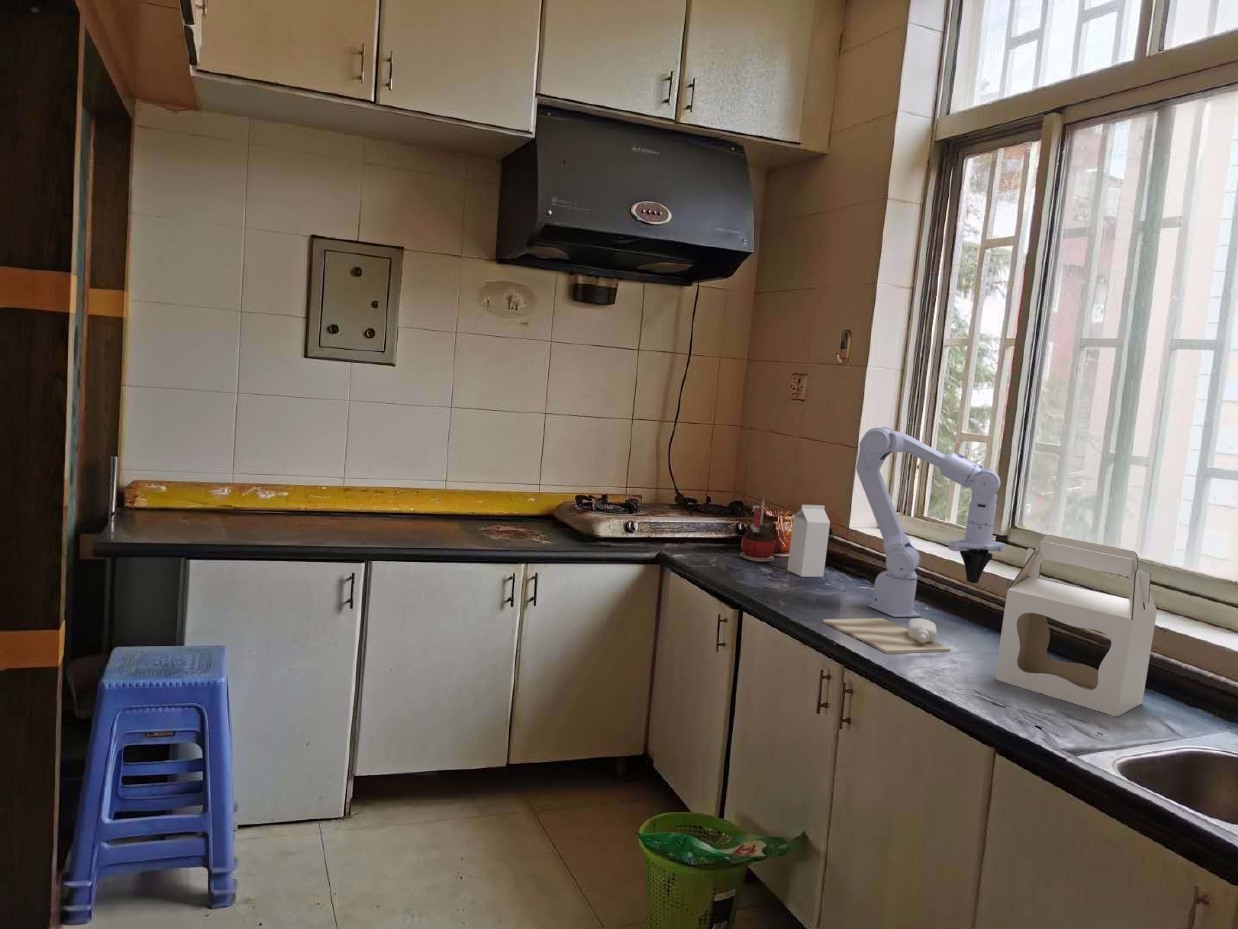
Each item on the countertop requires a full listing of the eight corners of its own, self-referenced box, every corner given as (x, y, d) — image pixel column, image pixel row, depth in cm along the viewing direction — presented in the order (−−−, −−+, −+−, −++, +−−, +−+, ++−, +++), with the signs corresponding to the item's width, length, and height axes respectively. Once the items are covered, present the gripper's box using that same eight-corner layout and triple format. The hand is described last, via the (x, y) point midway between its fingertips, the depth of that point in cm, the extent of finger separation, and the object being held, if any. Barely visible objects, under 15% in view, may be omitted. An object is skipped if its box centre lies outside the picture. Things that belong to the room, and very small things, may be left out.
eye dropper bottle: (926, 642, 206) (927, 655, 195) (904, 625, 207) (904, 638, 196) (939, 626, 205) (941, 639, 194) (917, 610, 206) (918, 621, 195)
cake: (775, 565, 268) (783, 502, 267) (742, 562, 269) (749, 498, 267) (770, 557, 279) (777, 496, 277) (738, 554, 279) (745, 493, 277)
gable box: (992, 679, 180) (1013, 532, 177) (1022, 668, 190) (1042, 529, 187) (1118, 718, 165) (1143, 558, 162) (1143, 704, 174) (1168, 553, 171)
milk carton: (823, 577, 258) (832, 507, 256) (800, 577, 256) (809, 507, 254) (809, 571, 265) (817, 503, 263) (786, 570, 262) (795, 502, 260)
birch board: (822, 622, 210) (823, 619, 210) (881, 620, 217) (882, 618, 217) (887, 653, 190) (887, 651, 190) (950, 651, 197) (950, 648, 197)
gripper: (968, 526, 210) (959, 586, 211) (1018, 527, 215) (1009, 586, 217) (945, 519, 216) (937, 578, 218) (994, 521, 222) (986, 578, 223)
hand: (972, 582), depth 218 cm, fingers closed
